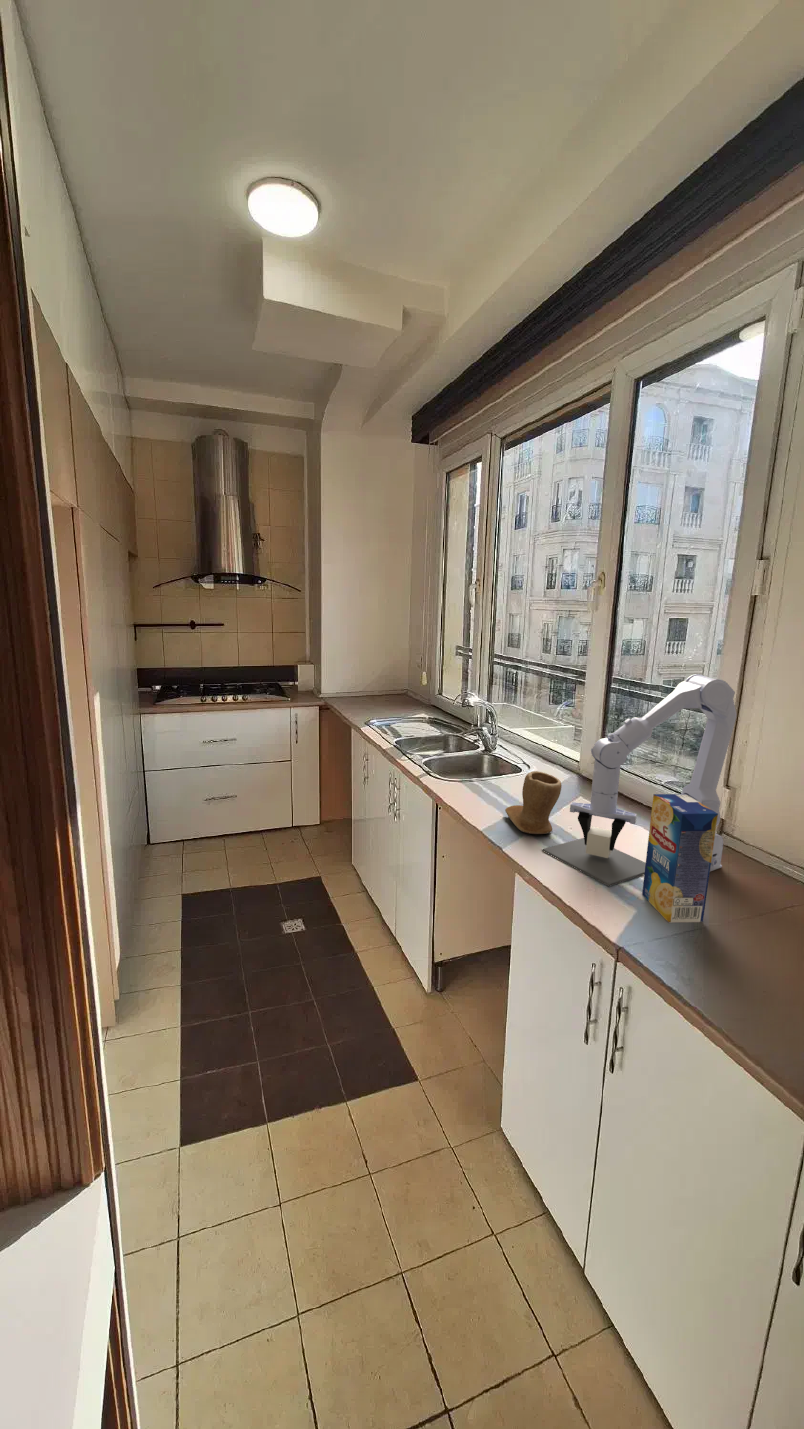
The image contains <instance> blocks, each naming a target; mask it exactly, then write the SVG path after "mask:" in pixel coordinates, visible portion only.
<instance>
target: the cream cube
mask: <svg viewBox="0 0 804 1429" xmlns="http://www.w3.org/2000/svg"><path fill="white" fill-rule="evenodd" d="M611 834H612V829H607V828H603V827H597V826H593V825H591V827H590V830H589V832H588V835H587V845H586V853H587V854H591V855H596V856H600V857H605V858H608V857H609V855H610V853H611V851H612V850H610V842H611Z"/></svg>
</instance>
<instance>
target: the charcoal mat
mask: <svg viewBox="0 0 804 1429" xmlns="http://www.w3.org/2000/svg"><path fill="white" fill-rule="evenodd" d="M543 851H545V852H547V853H549V854H550V855H549V854H548V855H549V856H551V855H552V856H551V857H553V856H554V857H553V858H555V857H556V858H558V859H559V861H560V860H561V861H560V862H562V861H563V862H562V863H564V864H565V865H568V866H570V867H572V866H573V867H575V868H577V869H578V870H577V869H576V870H577V871H579V870H581V871H582V872H581V871H580V872H581V873H583V872H584V873H583V874H585V875H587V876H589V877H590V876H591V879H594V880H596V881H599V882H600V883H602V884H604V885H606V886H608V887H612V886H615V885H618V884H621V883H624V882H627V881H630V880H632V879H635V878H638V877H642V876H644V873H645V864H646V861H643V860H640V858H639V859H638V858H637V857H635V856H632V855H630V854H627V853H625V852H623V851H621V850H620V849H617V848H615V847H614V849H613V851H611V853H610V855H609V857H608V858H605V857H600V856H596V855H591V854H587V853H586V845H585V841H584V837H582V838H579V839H575V840H570V841H567V842H564V843H560V844H556V845H552V846H548V847H544V848H542V852H543ZM545 852H544V853H545ZM547 853H546V854H547ZM556 858H555V859H556ZM558 859H557V860H558ZM573 867H572V868H573ZM575 868H574V869H575Z"/></svg>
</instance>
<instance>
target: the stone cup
mask: <svg viewBox="0 0 804 1429" xmlns="http://www.w3.org/2000/svg"><path fill="white" fill-rule="evenodd" d="M523 780H524V781H523V786H522V794H521V795H522V805H517V804H516V805H510V806H507V807H506V808H505V809H504V811H505V813H506V815H507V816H508V818H509V819H510V821H511V822H512V823H513V824H514V826H516V828H517V829H518V830H520V831H521V832H523V833H525V834H529V835H530V834H531V835H546V834H550V833H551V832H553V827H552V824H551V822H550V820H549V819H550V815H551V813H552V811H553V809H554V807H555V805H556V803H557V802H558V801H559V798H560V796H561V793H562V792H561V791H562V782H561V781H560V779H559V778H557V777H556V776H553V775H551V774H549V773H546V772H542V771H536V770H533V771H530V772H528V773H527V774H526V775H525V777H524V779H523Z"/></svg>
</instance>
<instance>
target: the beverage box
mask: <svg viewBox="0 0 804 1429" xmlns="http://www.w3.org/2000/svg"><path fill="white" fill-rule="evenodd" d="M650 813H651V815H650V824H649V830H648V831H649V832H648V839H647V840H648V841H647V848H646V857H645V863H646V864H645V873H644V875H643V883H642V884H643V885H642V892H641V895H642V897H644V898H645V899H646V900H647V901H648V903H650V905H652V907H653V908H654V909H655V910H656V911H657V912H658V913H659V914H660V915H661V916H662V918H664V920H666V922H668V923H703V922H704V917H705V916H704V915H705V909H706V908H705V907H706V903H707V894H708V888H709V881H710V873H711V871H710V867H711V860H712V853H713V845H714V838H715V833H716V831H717V827H716V824H717V817H718V813H716V812H714V811H713V810H711V809H709V808H708V807H706V806H705V805H703V804H701V803H700V802H698V801H696V800H695V799H693V798H692V797H690V796H688V795H687V794H681V793H680V794H679V793H675V794H673V793H669V794H668V793H656V794H655V793H654V794H653V797H652V806H651V812H650Z"/></svg>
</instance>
